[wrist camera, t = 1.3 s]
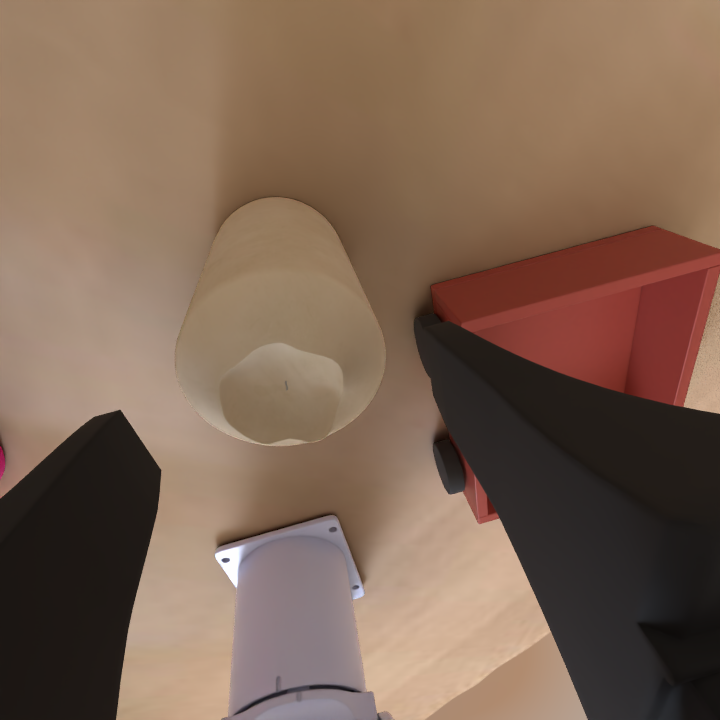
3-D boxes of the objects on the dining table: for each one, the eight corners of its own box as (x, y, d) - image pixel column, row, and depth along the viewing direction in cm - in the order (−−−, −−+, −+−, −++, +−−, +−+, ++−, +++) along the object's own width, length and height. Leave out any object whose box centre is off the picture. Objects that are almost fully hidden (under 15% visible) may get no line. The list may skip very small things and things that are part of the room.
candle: (299, 167, 17) (326, 244, 9) (365, 280, 20) (433, 420, 11) (183, 241, 18) (103, 378, 9) (263, 340, 20) (259, 512, 12)
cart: (619, 425, 28) (666, 470, 25) (453, 472, 28) (478, 524, 24) (653, 224, 21) (726, 250, 18) (429, 284, 20) (461, 323, 17)
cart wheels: (625, 468, 31) (662, 507, 28) (444, 521, 30) (462, 565, 27) (671, 237, 21) (732, 259, 19) (410, 307, 21) (432, 342, 18)
